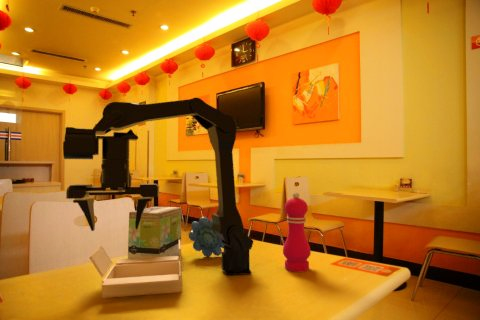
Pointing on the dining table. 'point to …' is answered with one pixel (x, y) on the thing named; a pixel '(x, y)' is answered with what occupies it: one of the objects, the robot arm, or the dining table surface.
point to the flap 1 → (101, 260)
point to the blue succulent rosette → (205, 238)
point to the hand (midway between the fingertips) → (115, 229)
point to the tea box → (155, 233)
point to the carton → (143, 277)
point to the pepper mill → (296, 236)
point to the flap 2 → (180, 255)
